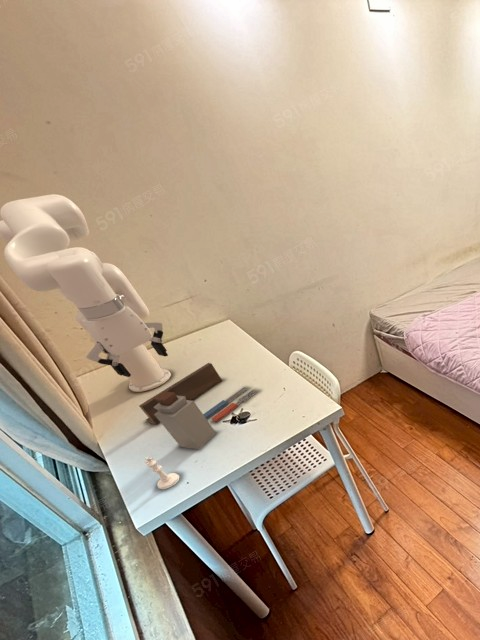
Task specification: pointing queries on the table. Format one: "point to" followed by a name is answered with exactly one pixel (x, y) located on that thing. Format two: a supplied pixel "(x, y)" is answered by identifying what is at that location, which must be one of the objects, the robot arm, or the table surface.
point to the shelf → (185, 389)
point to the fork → (232, 406)
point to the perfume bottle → (183, 420)
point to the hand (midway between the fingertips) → (145, 365)
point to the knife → (223, 404)
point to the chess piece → (162, 475)
